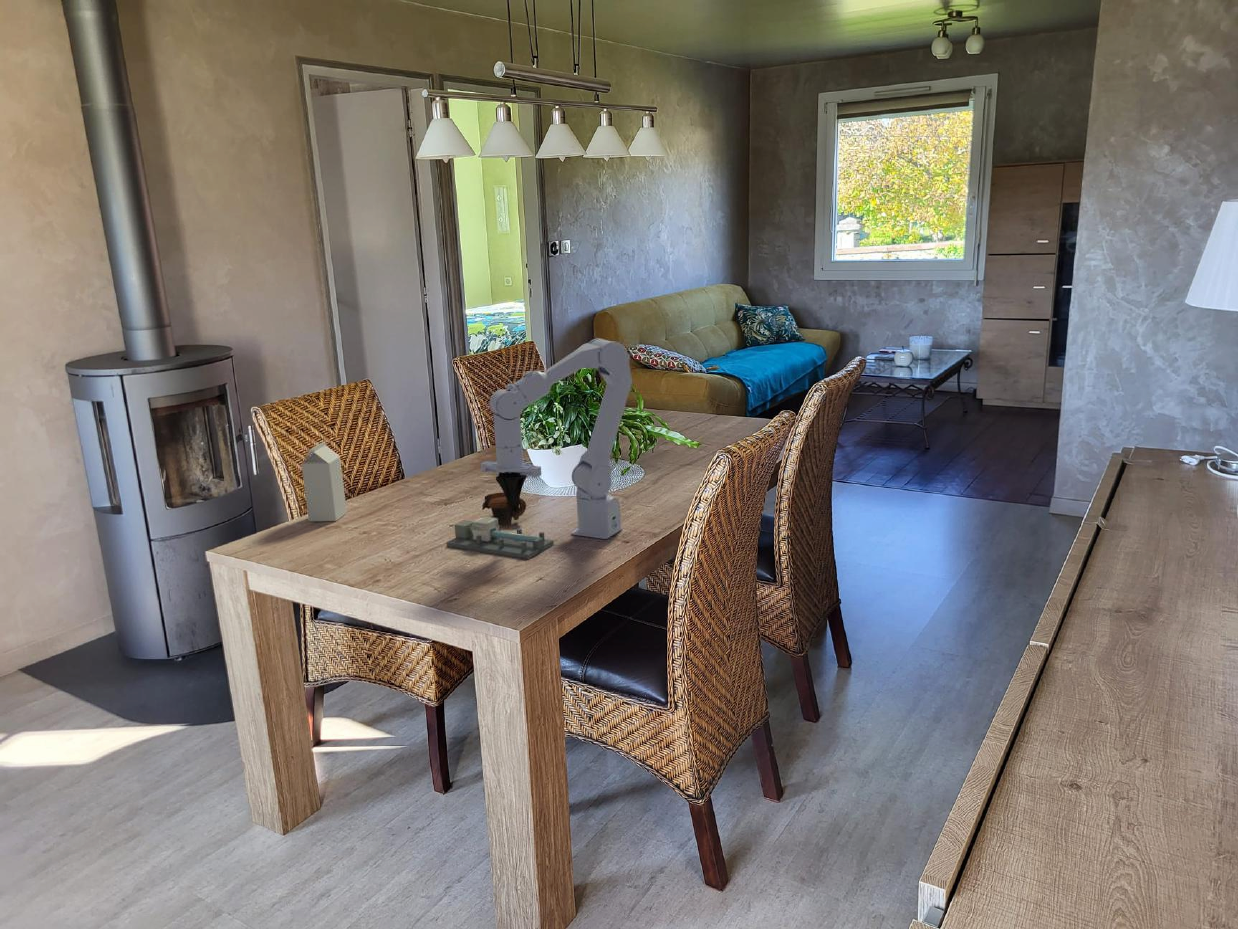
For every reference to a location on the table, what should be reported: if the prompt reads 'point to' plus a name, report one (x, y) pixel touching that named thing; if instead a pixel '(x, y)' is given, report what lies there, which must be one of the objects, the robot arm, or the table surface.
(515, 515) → the pottery mug
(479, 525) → the sleeve
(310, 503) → the milk carton
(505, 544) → the miniature lathe model
